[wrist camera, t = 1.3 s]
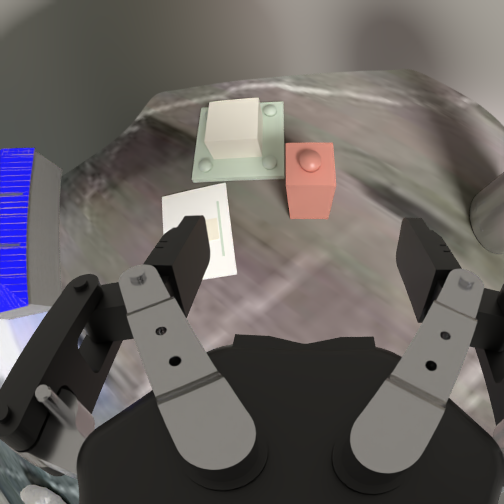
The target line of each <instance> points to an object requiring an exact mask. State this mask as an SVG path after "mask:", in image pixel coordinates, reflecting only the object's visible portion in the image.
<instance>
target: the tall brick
mask: <svg viewBox="0 0 504 504" xmlns="http://www.w3.org/2000/svg"><path fill="white" fill-rule="evenodd" d="M335 188H336V176H335V163H334V151H333V143H286V190H287V197H288V205H289V213H290V219H328V217H329V213H330V209H331V205H332V201H333V197H334V193H335Z"/></svg>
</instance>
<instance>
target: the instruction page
mask: <svg viewBox="0 0 504 504" xmlns="http://www.w3.org/2000/svg"><path fill="white" fill-rule="evenodd" d="M162 212H163V232H164V234H165V233H166V232H168V231H169V230H170V229H172V228H173V227H178V225H179V224H180V222H181V221H182V219H183V218H184V216H192V215H203V216H204V217H205V221H206V227H207V233H208V239H209V245H210V262H209V265H208V267H207V269H206V272H205V274H204V277H203V279H202V280H204V279H210V278H217V277H223V276H229V275H236V274H237V270H236V262H235V254H234V246H233V238H232V230H231V222H230V214H229V206H228V198H227V189H226V183H221V184H216V185H212V186H207V187H203V188H198V189H194V190H189V191H185V192H181V193H176V194H172V195H168V196H164V197H162Z"/></svg>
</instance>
